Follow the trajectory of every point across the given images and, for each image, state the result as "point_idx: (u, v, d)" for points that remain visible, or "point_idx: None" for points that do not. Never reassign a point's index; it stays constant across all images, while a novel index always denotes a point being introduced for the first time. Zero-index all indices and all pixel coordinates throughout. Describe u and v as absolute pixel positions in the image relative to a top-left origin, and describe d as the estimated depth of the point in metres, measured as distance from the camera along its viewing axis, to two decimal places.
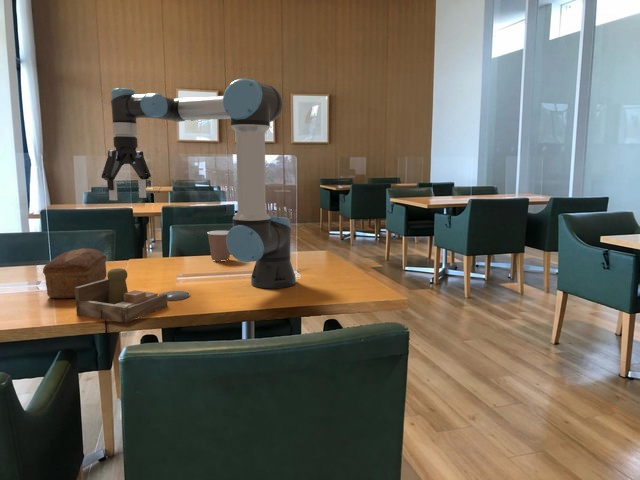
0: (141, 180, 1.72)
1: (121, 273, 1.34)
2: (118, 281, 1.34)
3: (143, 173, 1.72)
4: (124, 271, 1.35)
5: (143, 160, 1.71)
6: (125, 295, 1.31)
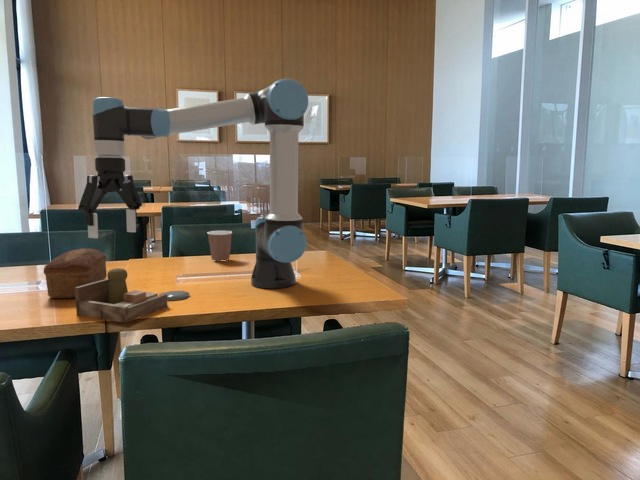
0: (130, 210, 1.39)
1: (121, 273, 1.34)
2: (118, 281, 1.34)
3: (132, 202, 1.38)
4: (124, 271, 1.35)
5: (132, 186, 1.38)
6: (125, 295, 1.31)
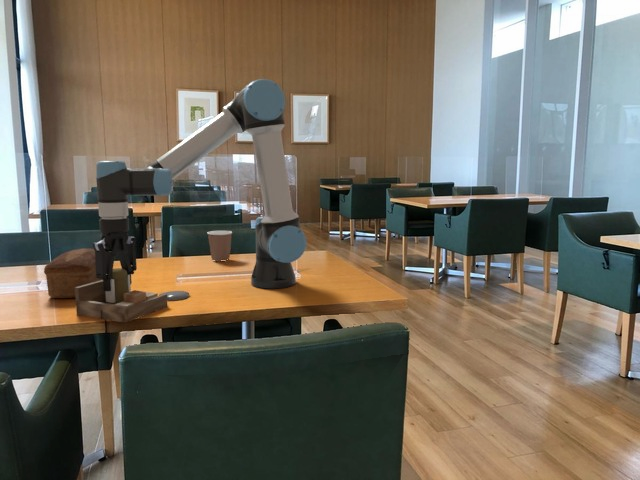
0: None
1: (121, 273, 1.34)
2: (118, 281, 1.34)
3: (128, 266, 1.38)
4: (124, 271, 1.35)
5: (133, 248, 1.39)
6: (125, 295, 1.31)
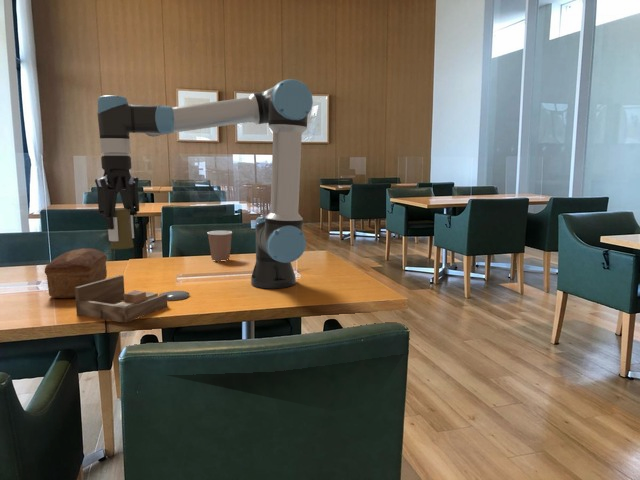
0: None
1: (124, 212, 1.33)
2: (121, 220, 1.33)
3: (131, 206, 1.37)
4: (127, 210, 1.34)
5: (136, 188, 1.38)
6: (125, 295, 1.31)
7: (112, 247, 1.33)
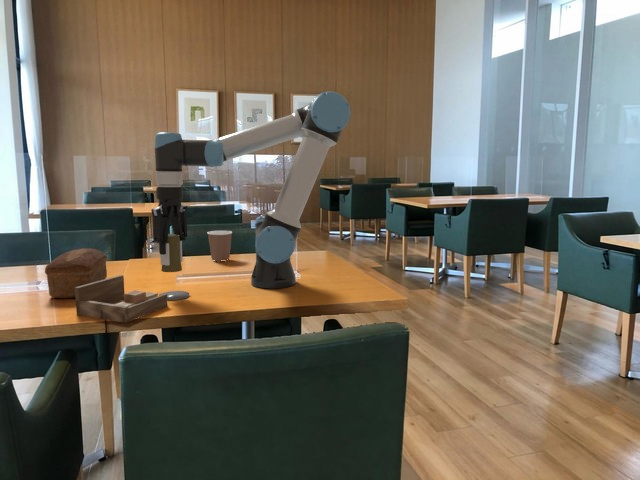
0: None
1: (175, 238, 1.44)
2: (172, 246, 1.44)
3: (181, 232, 1.48)
4: (177, 236, 1.45)
5: (185, 216, 1.49)
6: (125, 295, 1.31)
7: (163, 270, 1.45)
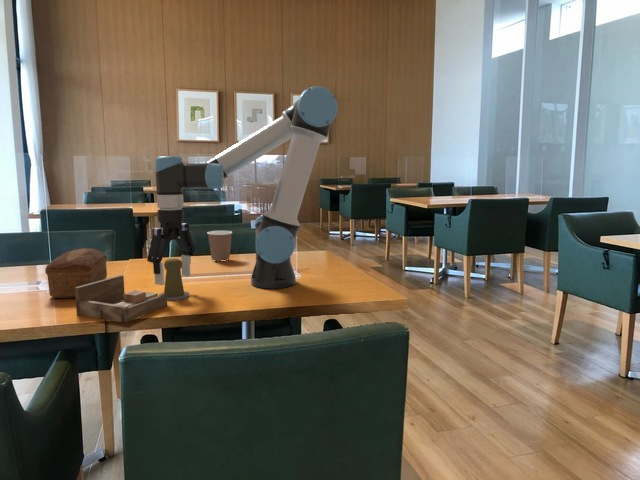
0: (185, 256, 1.52)
1: (177, 263, 1.45)
2: (175, 270, 1.46)
3: (187, 248, 1.51)
4: (179, 261, 1.47)
5: (188, 233, 1.51)
6: (125, 295, 1.31)
7: None
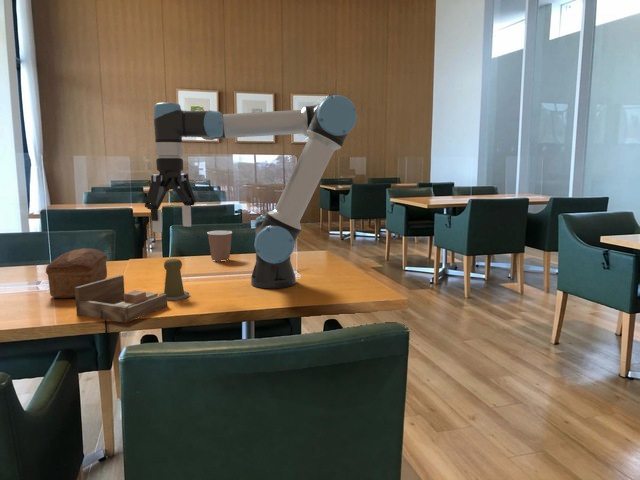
0: (185, 206, 1.51)
1: (177, 263, 1.45)
2: (175, 271, 1.45)
3: (188, 199, 1.50)
4: (179, 261, 1.46)
5: (188, 184, 1.49)
6: (125, 295, 1.31)
7: None
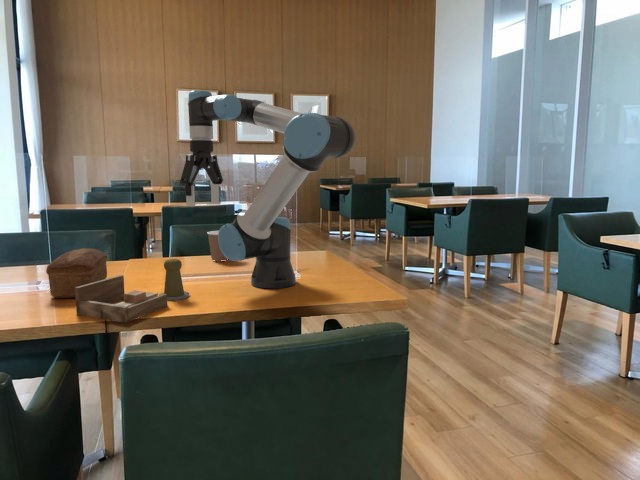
0: (214, 185, 1.67)
1: (177, 263, 1.45)
2: (174, 271, 1.45)
3: (216, 178, 1.66)
4: (179, 261, 1.46)
5: (217, 164, 1.66)
6: (125, 295, 1.31)
7: None
